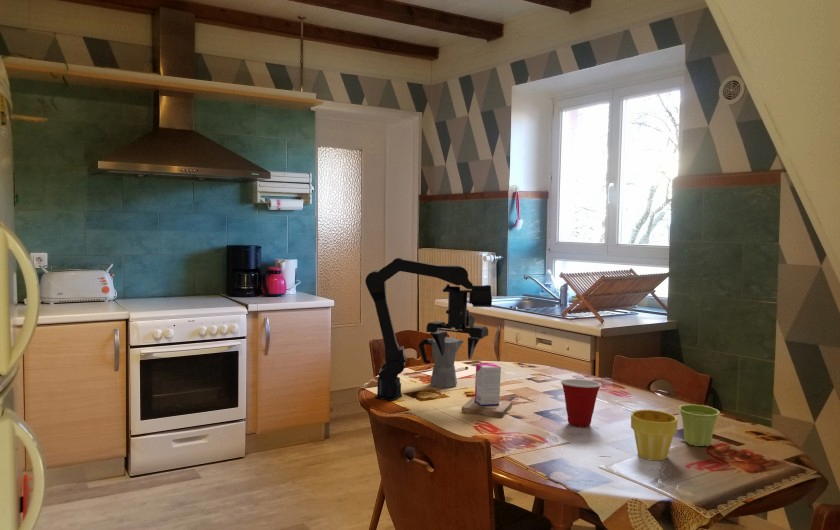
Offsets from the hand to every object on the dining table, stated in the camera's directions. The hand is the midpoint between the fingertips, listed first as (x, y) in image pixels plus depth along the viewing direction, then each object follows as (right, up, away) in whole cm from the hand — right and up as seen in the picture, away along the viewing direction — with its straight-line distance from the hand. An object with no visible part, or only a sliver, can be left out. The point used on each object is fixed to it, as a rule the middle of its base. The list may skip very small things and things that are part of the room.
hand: (456, 357), depth 205 cm
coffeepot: (-4, -12, +18) cm, 22 cm away
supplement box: (+8, -13, -10) cm, 18 cm away
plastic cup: (+32, -16, -22) cm, 42 cm away
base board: (+9, -14, -10) cm, 19 cm away
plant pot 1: (+44, -17, -46) cm, 66 cm away
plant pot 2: (+59, -17, -36) cm, 71 cm away
